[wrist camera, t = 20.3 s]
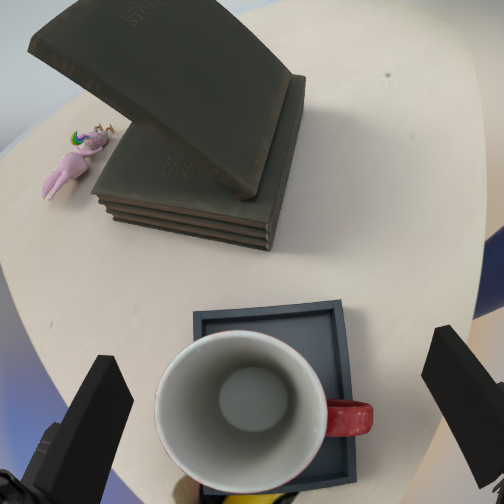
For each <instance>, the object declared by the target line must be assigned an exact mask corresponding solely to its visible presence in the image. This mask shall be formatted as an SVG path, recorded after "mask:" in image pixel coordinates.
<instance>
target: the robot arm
mask: <svg viewBox="0 0 504 504" xmlns="http://www.w3.org/2000/svg"><path fill="white" fill-rule="evenodd" d="M421 377H422V378H423V380H424V382H425V384H426V385H427V387H428V389H429V391H430V392H431V394H432V396H433V398H434V399H435V401H436V403H437V405H438V407H439V409H440V410H441V412H442V414H443V416H444V418H445V419H446V422H447V423H448V425H449V427H450V429H451V431H452V433H453V435H454V437H455V439H456V441H457V443H458V445H459V447H460V449H461V451H462V453H463V455H464V457H465V459H466V461H467V463H468V465H469V467H470V469H471V472H472V474H473V476H474V478H475V480H476V483H477V485H478V487H479V489H481V488H483V487H485V486H487V485H489V484H490V483H492V482H494V481H495V480H496V479H497V478H498V477H499V476H500V475H501V474H502V473H503V474H504V383H503V382H500V383H498V384H496V383H495V381H494V380H493V379H492V377H491V376H490V375H489V373H488V372H487V371H486V369H485V368H484V367H483V365H482V364H481V363H480V362H479V360H478V359H477V358H476V357H475V355H474V354H473V353H472V352H471V350H470V349H469V348H468V347H467V345H466V344H465V343H464V342H463V340H462V339H461V338H460V337H459V336H458V334H457V333H456V332H455V331H454V330H453V328H452V327H451V326H450V325H446V326H442V327H437V328H435V331H434V334H433V338H432V342H431V345H430V349H429V352H428V355H427V359H426V362H425V365H424V368H423V371H422V374H421ZM133 402H134V399H133V397H132V395H131V393H130V391H129V389H128V387H127V385H126V383H125V380H124V378H123V376H122V374H121V372H120V369H119V367H118V365H117V362H116V360H115V358H114V356H109V355H98V356H97V358H96V360H95V361H94V363H93V365H92V367H91V368H90V370H89V372H88V374H87V376H86V377H85V379H84V381H83V383H82V385H81V386H80V388H79V390H78V392H77V394H76V396H75V398H74V399H73V401H72V403H71V405H70V407H69V409H68V411H67V413H66V415H65V417H64V419H63V421H62V422H61V424H60V423H56V422H54V423H53V424H52V425H51V426H50V427H49V428H48V429H47V430H46V431H45V432H44V434H43V436H42V439H41V440H40V443H39V444H38V446H37V448H36V451H35V452H34V454H33V456H32V458H31V460H30V463H29V465H28V467H27V469H26V471H25V473H24V475H23V478H22V479H21V481H19V480H18V479H17V478H16V477H14V476H13V475H12V474H11V473H10V472H9V471H7V470H4V469H2V470H0V504H100V502H101V499H102V495H103V492H104V489H105V485H106V482H107V479H108V476H109V473H110V469H111V466H112V463H113V460H114V457H115V454H116V451H117V448H118V445H119V442H120V439H121V436H122V433H123V431H124V428H125V425H126V422H127V419H128V416H129V413H130V411H131V408H132V405H133ZM499 487H500V490H499V491H498V492H497V493H499V494H498V498H497V502H496V504H504V478H503V479H502V480H501V481H500V482H499V483H498V484H497V485H496V486H495V487H494V489H493V491H492V492H493V493H494V492H495V491H496V490H497V489H498V488H499Z"/></svg>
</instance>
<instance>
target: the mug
mask: <svg viewBox="0 0 504 504" xmlns="http://www.w3.org/2000/svg"><path fill="white" fill-rule="evenodd" d="M154 415H155V424H156V428H157V432H158V435H159V438H160V440H161V443H162V445H163V447H164V449H165V451H166V452H167V454H168V455H169V457H170V458H171V459H172V460H173V462H174V463H175V464H176V465H177V466H178V467H179V468H180V469H181V470H182V471H183V472H184V473H186V474H187V475H188V476H190V477H191V478H192V479H194V480H196V481H197V482H199V483H201V484H203V485H205V486H208V487H210V488H213V489H216V490H219V491H223V492H228V493H237V494H250V493H259V492H264V491H268V490H271V489H274V488H277V487H279V486H282V485H284V484H286V483H287V482H290V481H291V480H292V479H294V478H295V477H297V476H298V475H299V474H300V473H302V472H303V471H304V470H305V469H306V468H307V467H308V466H309V464H310V463H311V462H312V460H313V459H314V458H315V456H316V454H317V453H318V451H319V449H320V447H321V445H322V443H323V440H324V437H325V436H330V437H345V436H357V435H361V434H366V433H368V432H369V431H370V429H371V428H372V425H373V407H372V406H371V405H370V404H368V403H363V402H357V401H349V400H340V399H329V398H326V396H325V392H324V389H323V387H322V384H321V382H320V379H319V378H318V376H317V373H316V372H315V370H314V369H313V368H312V366H311V365H310V364H309V362H308V361H307V360H306V359H305V358H304V357H303V356H302V355H301V354H300V353H299V352H298V351H297V350H295V349H294V348H292V347H291V346H290V345H288V344H287V343H285V342H283V341H281V340H279V339H277V338H275V337H273V336H270V335H267V334H264V333H260V332H255V331H247V330H229V331H223V332H218V333H214V334H211V335H207V336H205V337H203V338H201V339H198V340H196V341H194V342H193V343H191V344H190V345H188V346H187V347H186V348H184V349H183V350H182V351H181V352H180V353H179V354H178V355H177V356H176V357H175V358H174V359H173V360H172V362H171V363H170V364H169V365H168V367H167V368H166V370H165V372H164V374H163V376H162V378H161V380H160V382H159V385H158V388H157V391H156V396H155V406H154Z"/></svg>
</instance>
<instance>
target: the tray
mask: <svg viewBox="0 0 504 504" xmlns="http://www.w3.org/2000/svg"><path fill="white" fill-rule="evenodd" d="M229 330H247V331H255V332H260V333H264V334H267V335H270V336H273V337H275V338H277V339H279V340H281V341H283V342H285V343H287V344H288V345H290V346H291V347H292V348H294V349H295V350H297V351H298V352H299V353H300V354H301V355H302V356H303V357H304V358H305V359H306V360H307V361H308V362H309V364H310V365H311V366H312V368H313V369H314V370H315V372H316V373H317V376H318V378H319V379H320V382H321V384H322V387H323V389H324V392H325V396H326V398H329V399H340V400H349V401H353V398H352V386H351V375H350V366H349V356H348V347H347V339H346V331H345V323H344V316H343V309H342V302H341V299H340V300H333V301H322V302H313V303H303V304H292V305H281V306H269V307H257V308H243V309H228V310H212V311H202V312H201V311H194V312H193V337H194V341H196V340H198V339H201V338H203V337H205V336H207V335H211V334H214V333H218V332H223V331H229ZM354 482H357V474H356V445H355V436H345V437H330V436H325V437H324V440H323V443H322V445H321V447H320V449H319V451H318V453H317V454H316V456H315V458H314V459H313V460H312V462H311V463H310V464H309V466H308V467H307V468H306V469H305V470H304V471H303V472H302V473H300V474H299V475H298V476H297V477H295V478H294V479H292V480H291V481H290V482H287V483H286V484H284V485H282V486H279V487H277V488H274V489H271V490H268V491H264V492H259V493H250V494H237V493H228V492H223V491H219V490H216V489H213V488H210V487H208V486H205V485H203V490H204V495H259V494H276V493H288V492H297V491H306V490H314V489H320V488H327V487H333V486H339V485H344V484H350V483H354Z"/></svg>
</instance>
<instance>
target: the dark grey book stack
mask: <svg viewBox="0 0 504 504" xmlns="http://www.w3.org/2000/svg"><path fill="white" fill-rule="evenodd" d="M27 52H29V53H30V54H32V55H34V56H35V57H37V58H38V59H40V60H41V61H43V62H45V63H46V64H47V65H49V66H51V67H52V68H54V69H55V70H57V71H58V72H60V73H61V74H63V75H64V76H66V77H68V78H69V79H70V80H72V81H73V82H75V83H76V84H78V85H80V86H81V87H82V88H84V89H85V90H87V91H88V92H90V93H91V94H93V95H94V96H96V97H97V98H99V99H100V100H102V101H103V102H105V103H106V104H107V105H109V106H110V107H112V108H113V109H115V110H116V111H118V112H119V113H121V114H122V115H123V116H125V117H126V118H128V119H129V120H131V121H132V123H131V124H130V126H129V128H128V129H127V131H126V132H125V134H124V135H123V137H122V139H121V140H120V142H119V144H118V145H117V147H116V148H115V150H114V152H113V154H112V155H111V157H110V159H109V160H108V162H107V164H106V166H105V167H104V169H103V171H102V173H101V175H100V176H99V178H98V180H97V182H96V184H95V186H94V188H93V190H92V191H91V194H94V195H97V196H98V198H99V200H98V202H99V204H103V205H105V206H106V208H107V209H106V212H107V213H110V214H112V215H113V216H114V218H113V220H114V221H119V222H124V223H129V224H134V225H139V226H144V227H149V228H154V229H159V230H164V231H169V232H174V233H179V234H184V235H189V236H194V237H199V238H204V239H209V240H214V241H219V242H224V243H229V244H234V245H239V246H244V247H249V248H254V249H259V250H264V251H271V247H272V243H273V239H274V235H275V231H276V226H277V222H278V218H279V214H280V210H281V205H282V201H283V197H284V193H285V188H286V184H287V180H288V175H289V171H290V167H291V162H292V158H293V153H294V149H295V145H296V140H297V136H298V131H299V127H300V122H301V118H302V113H303V108H304V96H305V83H306V77H305V76H302V75H294V74H292V73H291V72H290V71H289V70H288V69H287V68H286V67H285V66H284V64H283V63H282V62H281V61H280V60H279V59H278V58H277V57H276V56H275V55H274V54H273V53H272V52H271V51H270V50H269V49H268V48H267V47H266V46H265V45H264V44H263V43H262V42H261V41H260V40H259V39H258V38H257V37H256V36H255V35H254V34H253V33H252V32H251V31H250V30H249V29H248V28H247V27H245V26H244V25H243V24H242V23H241V22H240V21H239V20H238V19H237V18H236V17H235V16H233V15H232V14H231V13H230V12H229V11H228V10H227V9H225V8H224V7H223V6H222V5H221V4H220V3H218V2H217V1H216V0H78V1H77V2H76V3H74V4H73V5H71V6H70V7H68V8H67V9H66V10H64V11H63V12H62V13H60V14H59V15H58V16H56V17H55V18H54V19H52V20H51V21H50V22H49V23H48V24H46V25H45V26H44V27H42V28H41V29H40V30H39V31H38V32H37V33H35V34H34V35H33V37H32V38H31V41H30V44H29V47H28V51H27Z"/></svg>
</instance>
